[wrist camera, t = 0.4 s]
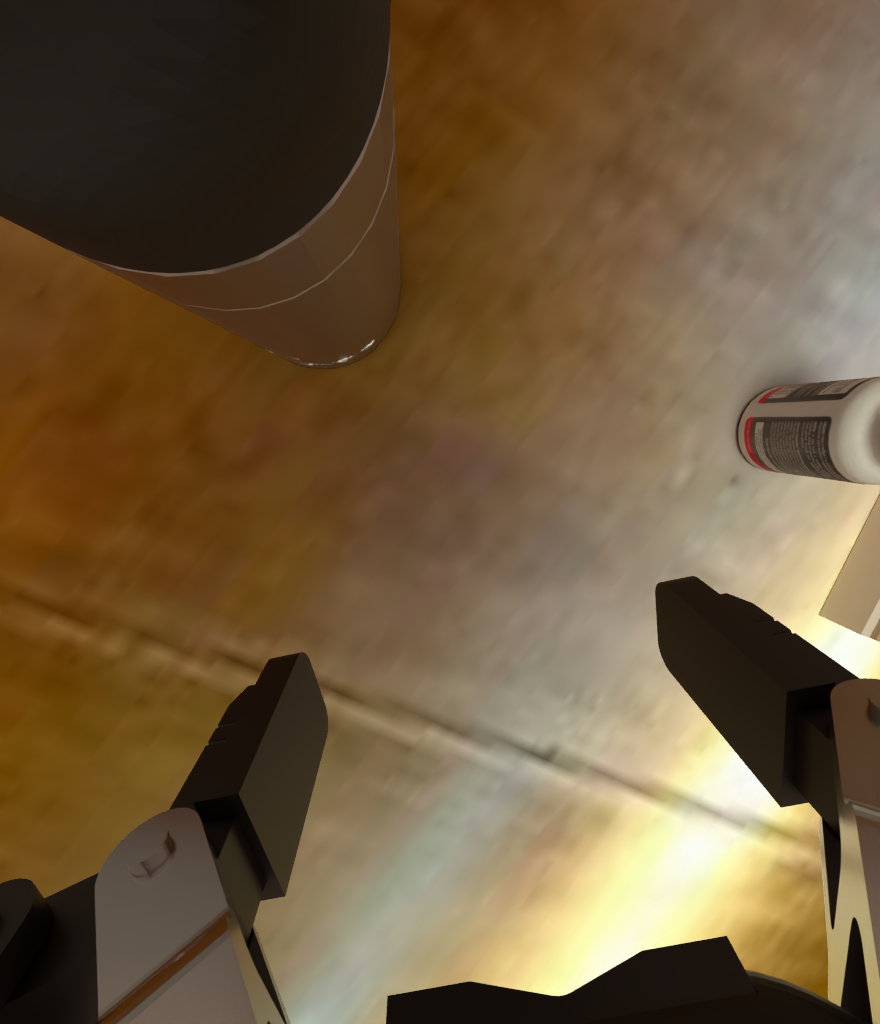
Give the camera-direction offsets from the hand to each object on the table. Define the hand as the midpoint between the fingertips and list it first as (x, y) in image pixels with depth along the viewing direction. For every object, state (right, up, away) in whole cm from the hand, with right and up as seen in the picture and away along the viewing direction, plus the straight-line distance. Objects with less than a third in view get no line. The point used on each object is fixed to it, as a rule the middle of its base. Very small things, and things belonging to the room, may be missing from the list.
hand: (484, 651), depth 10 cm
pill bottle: (+21, +9, +19) cm, 29 cm away
